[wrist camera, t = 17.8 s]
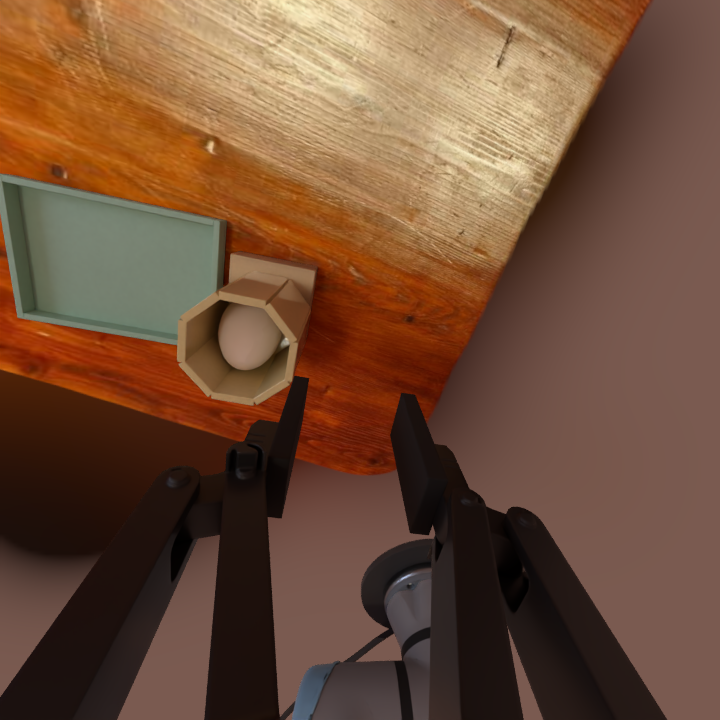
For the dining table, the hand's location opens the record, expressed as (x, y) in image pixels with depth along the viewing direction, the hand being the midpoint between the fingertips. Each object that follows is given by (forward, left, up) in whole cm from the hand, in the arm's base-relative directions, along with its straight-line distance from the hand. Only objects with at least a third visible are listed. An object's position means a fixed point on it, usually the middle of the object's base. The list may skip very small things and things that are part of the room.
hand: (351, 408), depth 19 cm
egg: (+1, +9, -16) cm, 19 cm away
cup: (-1, +8, -18) cm, 20 cm away
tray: (0, +23, -21) cm, 31 cm away
